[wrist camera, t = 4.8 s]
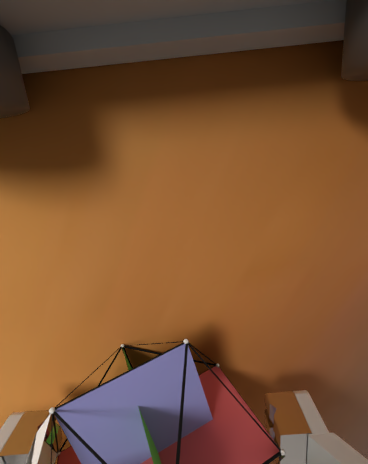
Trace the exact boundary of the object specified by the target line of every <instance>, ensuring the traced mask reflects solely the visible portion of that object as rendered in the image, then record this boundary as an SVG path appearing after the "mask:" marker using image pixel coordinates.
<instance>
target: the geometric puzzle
mask: <svg viewBox="0 0 368 464" xmlns="http://www.w3.org/2000/svg"><path fill="white" fill-rule="evenodd" d="M182 342H184V343H182V344H180V345H178V346H176V347H174V348H172V349H170V350H168V351H166V352H164V353H157V352H152V351H147V350H142V349H137V348H132V347H127V346H131V345H124V344H121V347H120V349H119V351H118V353H119V352H120V350H121V348H122V350H123V353H124V355H125V359H126V363H127V367H128V370H129V371H127V372H125V373H123V374H121V375H119V376H117V377H115V378H113V379H111V380H109V381H107V382H105V383H103V384H101V382H102V380H103V379H104V377H105V375H106V374H107V372H108V370H109V369H110V367H111V365H112V364H113V362H114V360H115V358H116V357H117V355H118V353H117V354H116V356H115V358H114V359H113V361H112V363H111V364H110V366H109V368H108V370H107V371H106V373H105V375H104V376H103V378H102V380H101V381H100V383H99V385H98V386H97V387H96V388H94V389H92V390H90V391H88V392H86V393H84V394H82V395H80V396H78V397H76V398H74V399H72V400H70V401H68V402H66V403H64V404H62V405H60V406H58V405H59V404H60V403H61V402H62V401H63V400H62V401H61V402H60V403H59V404H58V405H57V406H58V407H57V406H56V407H55V408H54V407H51V408H50V409H49V413H50V414H49V415H48V416H47V418H46V419H45V421H44V422H43V424H42V425H41V426H40V428H39V429H38V431H37V432H36V435H35V438H36V439H35V438H34V441H33V443H32V446H31V449H30V452H29V454H28V457H27V460H26V463H25V464H31V461H32V464H55V461H56V458H57V457H58V460H57V464H269V463H270V462H272V461H273V460H274V459H276V458H277V457H279V456H280V458H281V455H282V456H284V455H285V451H284V449H280V448H279V447H278V445H277V444H276V443H275V441H274V440H273V439H272V437H271V436H270V434H269V433H268V432H267V430H266V429H265V428H264V426H263V425H262V424H261V422H260V421H259V420H258V418H257V417H256V416H255V414H254V413H253V412H252V410H251V409H250V408H249V406H248V405H247V404H246V402H245V401H244V400H243V398H242V397H241V396H240V394H239V393H238V392H237V390H236V389H235V388H234V386H233V385H232V384H231V382H230V381H229V380H228V378H227V377H226V376H225V374H224V373H223V372H222V370H221V369H220V368H219V364H216V363H214V362H213V361H212V360H211V361H212V362H213V363H214V364H211V363H206V362H205V361H204V360H203V359H202V358H201V357H200V355H199V354H198V353H197V352H196V351H195V350H194V348H195V347H194V346H192V345H191V344H190V343H189V342H188V339H184V341H182ZM168 343H176V342H168ZM153 344H161V343H153ZM139 345H146V344H139ZM188 345H189V346H190V347H191V348H192V350H193V351H194V352H195V353H196V354H197V355H198V357H199V358H200V359H201V360H202V361H203V362H201V361H196V360H193V358H192V355H191V352H190V349H189V346H188ZM124 347H125V348H130V349H135V350H140V351H145V352H150V353H155V354H159V355H158V356H156V357H154V358H152V359H150V360H148V361H146V362H144V363H143V364H141V365H139V366H137V367H135V368H133V367H132V365H131V363H130V360H129V358H128V355H127V353H126V350H125V348H124ZM193 347H194V348H193ZM195 349H196V348H195ZM196 350H198V349H196ZM198 351H199V350H198ZM199 352H200V351H199ZM200 353H201V352H200ZM113 354H114V353H113ZM113 354H112V355H113ZM201 354H203V353H201ZM112 355H111V356H112ZM203 355H204V354H203ZM111 356H110V357H111ZM204 356H205V355H204ZM110 357H109V358H110ZM205 357H207V356H205ZM109 358H108V359H109ZM207 358H208V357H207ZM108 359H107V360H108ZM208 359H209V358H208ZM107 360H106V361H107ZM209 360H210V359H209ZM194 362H199V363H204V364H205V365H206V366H207V367H208V368H209V370H208V371H206V372H204V373H202V374H200V375H199V376H198V373H197V370H196V367H195V364H194ZM207 364H209V365H214V367H212V368H210V367H209V366H208V365H207ZM101 365H102V364H101ZM101 365H100V366H101ZM100 366H99V367H100ZM99 367H98V368H99ZM98 368H97V369H98ZM97 369H96V370H97ZM96 370H95V371H96ZM95 371H94V372H95ZM94 372H93V373H94ZM88 377H89V376H88ZM88 377H87V378H88ZM87 378H86V379H87ZM86 379H85V380H86ZM85 380H84V381H85ZM84 381H83V382H84ZM83 382H82V383H83ZM82 383H81V384H82ZM81 384H80V385H81ZM100 384H101V385H100ZM80 385H79V386H80ZM75 389H76V388H75ZM75 389H74V390H75ZM74 390H73V391H74ZM73 391H72V392H73ZM72 392H71V393H72ZM71 393H70V394H71ZM70 394H69V395H70ZM69 395H68V396H69ZM68 396H67V397H68ZM67 397H66V398H67ZM51 414H52V427H51V446H50V445H49V444H48V443H47V442H46V441H45V440H44V438H45V434H46V430H47V427H48V423H49V419H50V416H51ZM54 415H55V417H56V419H57V420H58V422H59V424H60V426H61V428H62V429H63V431H64V433H65V435H66V437H67V439H66V440H65V442H64V444H63V445H62V447H61V449H60V451H59V448H58V441H57V433H56V425H55V418H54ZM53 425H54V432H55V439H56V445H57V452H56V451H55V450H54V449H53V448H52V431H53ZM67 440H69V442H70V444H71V447H69V448H67V449H65V450H63V451H61V450H62V448H63V446H64V445H65V443H66V441H67ZM34 444H35V446H34ZM33 450H34V452H33ZM32 455H33V458H32ZM280 458H279V461H280ZM278 464H279V462H278Z"/></svg>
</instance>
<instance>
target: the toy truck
mask: <svg viewBox="0 0 368 464" xmlns="http://www.w3.org/2000/svg"><path fill="white" fill-rule="evenodd" d="M340 40H343V55H342V70H341V78H342V79H345V80H351V81H368V0H0V118H5V117H11V116H16V115H19V114H23V113H25V112H27V111H29V110H30V107H29V102H28V98H27V94H26V90H25V86H24V81H23V77H22V74H27V73H36V72H46V71H55V70H65V69H74V68H84V67H93V66H103V65H112V64H122V63H131V62H141V61H150V60H160V59H169V58H179V57H188V56H198V55H207V54H217V53H226V52H236V51H245V50H254V49H264V48H273V47H283V46H292V45H302V44H311V43H321V42H330V41H340Z"/></svg>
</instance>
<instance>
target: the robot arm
mask: <svg viewBox="0 0 368 464" xmlns="http://www.w3.org/2000/svg"><path fill="white" fill-rule="evenodd" d="M265 404H266V408H267V409H266V410H265V422H266V428H267V432H268V433H269V434H270V436H271V437H272V439H273V440H274V441H275V443H276V444H277V445H278V447H279V448H280V449H284V451H285V455H284V456H282V455H281V458H280V456H279V457H277V458H276V459H275V460H276V463H277V464H278V462H279V464H368V459H366V458H365V457H364V456H363V455H361V454H360V453H359V452H358V451H356V450H355V449H354V448H352V447H351V446H350V445H349V444H347V443H346V442H345V441H344V440H342V439H341V438H340V437H339V436H337V435H336V434H335V433H329V431H328V429H327V427H326V425H325V423H324V421H323V419H322V418H321V416H320V414H319V412H318V410H317V408H316V406H315V404H314V402H313V400H312V398H311V396H310V394H309V392H308V391H307V390H300V391H286V392H275V393H265ZM49 414H50V413H49V410H46V411H27V412H13V413H12V414H11V415H10V416H9V417H8V418H7V420H6V422H5V423H4V425H3V426H2V428H1V429H0V464H25V463H26V460H27V457H28V454H29V452H30V449H31V446H32V443H33V441H34V438H35V435H36V432H37V431H38V429H39V428H40V426H41V425H42V424H43V422H44V421H45V419H46V418H47V416H48V415H49ZM54 418H55V421H56V417H55V415H54ZM55 425H56V433H57V441H58V448H59V449H60V446H61V440H62V431H61V427H60V426H59V425H58V424H57V423H56V422H55ZM51 427H52V414H51V416H50V419H49V423H48V427H47V430H46V434H45V438H44V440H45V441H46V442H47V443H48V444H49V445H50V446H51ZM35 439H36V438H35ZM34 446H35V444H34ZM52 448H53V449H54V450H55V451H56V452H57V445H56V439H55V432H54V425H53V431H52ZM33 452H34V450H33ZM32 458H33V455H32ZM279 458H280V461H279ZM31 464H32V461H31Z"/></svg>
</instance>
